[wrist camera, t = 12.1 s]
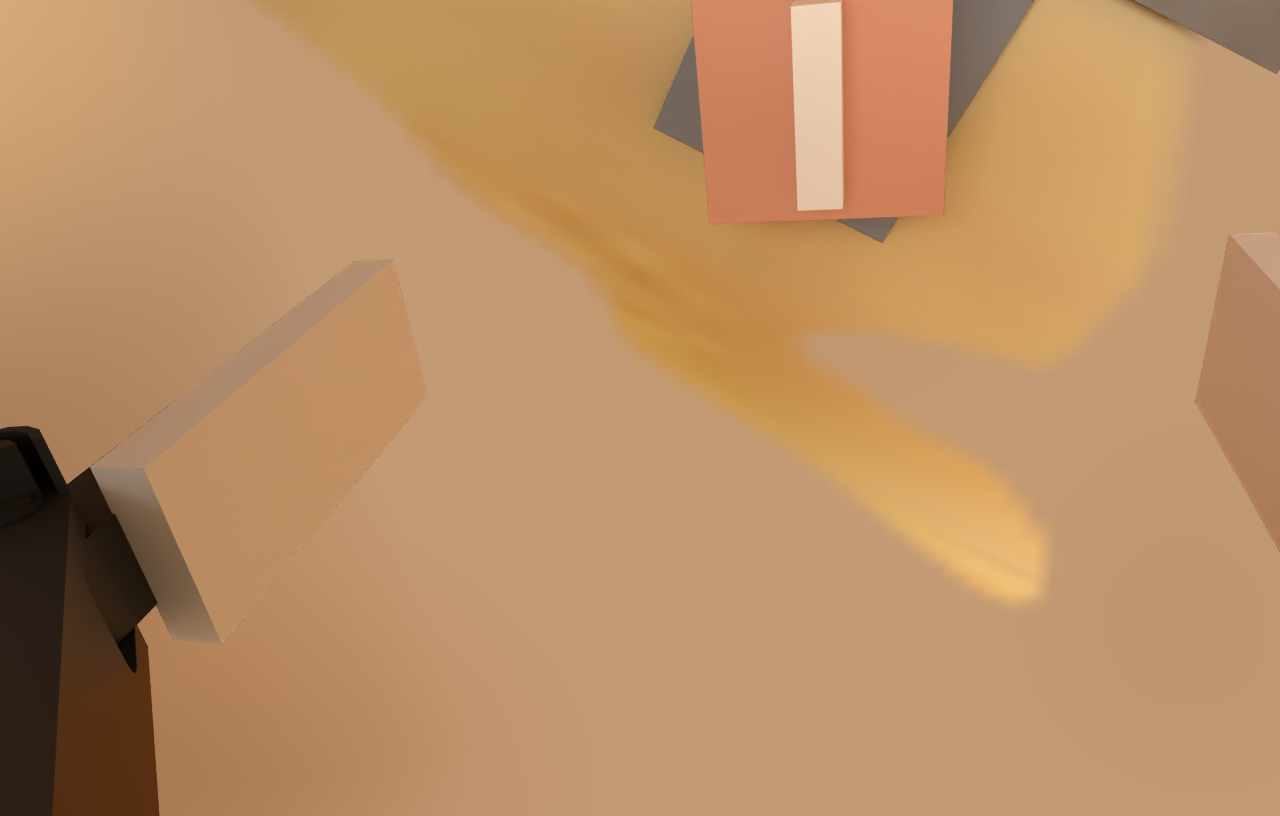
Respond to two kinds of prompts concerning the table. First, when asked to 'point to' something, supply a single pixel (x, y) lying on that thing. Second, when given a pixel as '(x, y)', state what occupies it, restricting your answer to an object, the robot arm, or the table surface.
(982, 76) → the mat
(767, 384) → the table surface
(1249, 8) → the grey peg stand
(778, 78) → the orange block
